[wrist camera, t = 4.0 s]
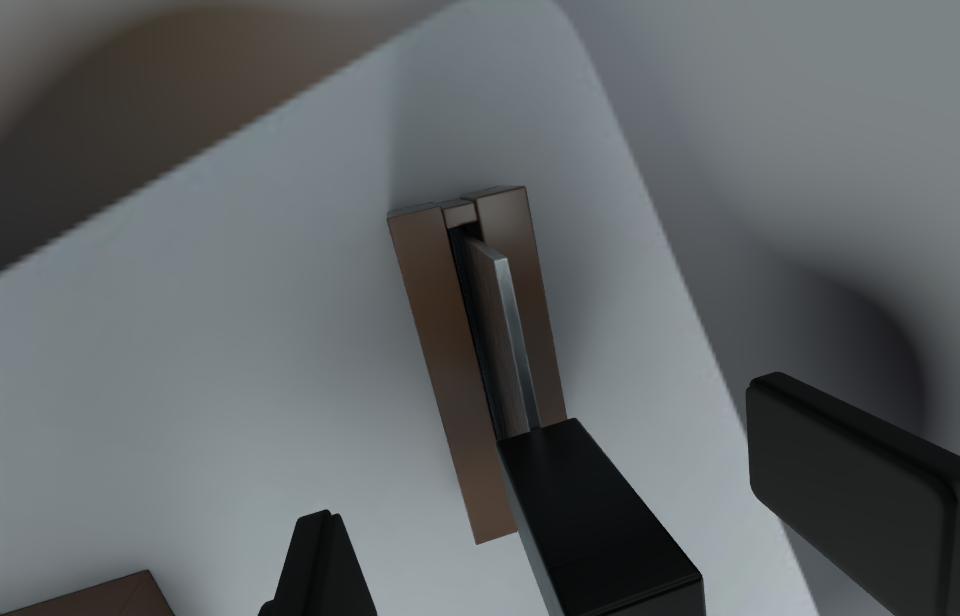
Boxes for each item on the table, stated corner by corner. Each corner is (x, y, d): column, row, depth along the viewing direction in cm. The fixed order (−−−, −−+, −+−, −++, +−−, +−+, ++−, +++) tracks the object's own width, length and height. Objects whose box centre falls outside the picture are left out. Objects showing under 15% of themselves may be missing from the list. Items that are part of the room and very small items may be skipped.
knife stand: (386, 212, 16) (386, 218, 13) (502, 185, 16) (526, 185, 13) (463, 492, 19) (476, 545, 16) (556, 463, 20) (583, 510, 17)
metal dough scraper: (425, 233, 16) (509, 348, 5) (478, 219, 16) (682, 298, 5) (483, 465, 19) (622, 880, 8) (528, 451, 19) (727, 833, 8)
